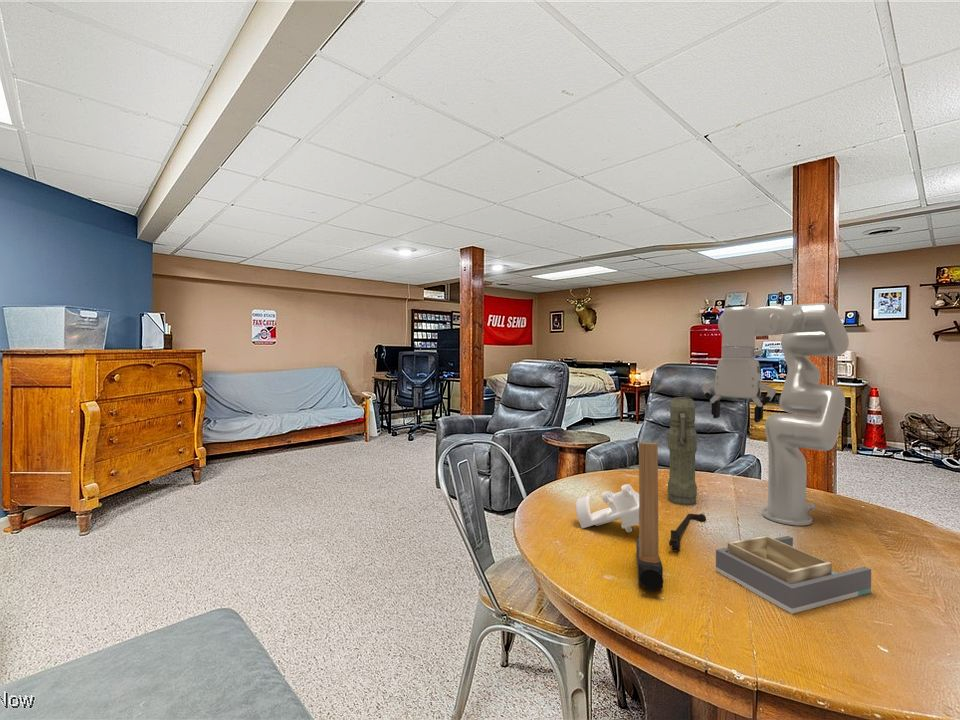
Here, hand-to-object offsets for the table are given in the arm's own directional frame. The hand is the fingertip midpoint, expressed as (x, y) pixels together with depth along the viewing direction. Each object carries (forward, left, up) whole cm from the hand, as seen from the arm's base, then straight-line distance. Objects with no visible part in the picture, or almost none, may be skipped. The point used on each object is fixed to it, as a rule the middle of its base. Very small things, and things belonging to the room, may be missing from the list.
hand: (736, 419), depth 118 cm
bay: (+5, +19, -33) cm, 38 cm away
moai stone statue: (-12, -31, -33) cm, 47 cm away
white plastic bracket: (+24, -19, -33) cm, 45 cm away
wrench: (+7, -8, -33) cm, 35 cm away
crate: (+9, +19, -31) cm, 38 cm away
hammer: (+32, +6, -33) cm, 46 cm away
